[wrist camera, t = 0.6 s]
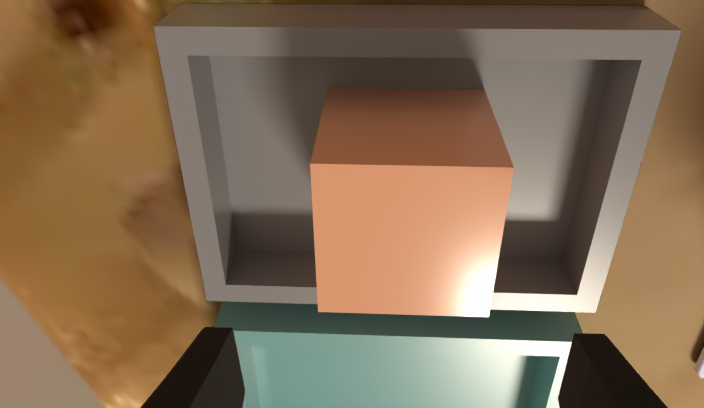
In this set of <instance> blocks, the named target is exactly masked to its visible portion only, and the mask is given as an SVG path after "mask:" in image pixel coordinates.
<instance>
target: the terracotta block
mask: <svg viewBox="0 0 704 408" xmlns="http://www.w3.org/2000/svg"><path fill="white" fill-rule="evenodd" d="M513 171H514V166H513V163H512V161H511V158H510V155H509V153H508V150H507V148H506V145H505V142H504V140H503V137H502V134H501V132H500V129H499V126H498V124H497V121H496V118H495V116H494V113H493V110H492V108H491V105H490V103H489V100H488V97H487V95H486V92H485V90H442V89H363V88H328V89H327V93H326V97H325V101H324V106H323V110H322V114H321V119H320V123H319V127H318V132H317V136H316V140H315V145H314V149H313V153H312V158H311V162H310V172H311V190H312V209H313V228H314V246H315V265H316V284H317V302H318V312H336V313H368V314H400V315H432V316H465V317H489V313H490V307H491V301H492V295H493V289H494V283H495V278H496V272H497V266H498V260H499V254H500V248H501V242H502V236H503V230H504V224H505V218H506V212H507V206H508V201H509V195H510V189H511V183H512V177H513Z"/></svg>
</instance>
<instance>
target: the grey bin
mask: <svg viewBox="0 0 704 408" xmlns="http://www.w3.org/2000/svg"><path fill="white" fill-rule="evenodd" d="M153 27H154V32H155V37H156V42H157V47H158V53H159V58H160V63H161V68H162V73H163V78H164V83H165V88H166V94H167V99H168V104H169V109H170V114H171V119H172V124H173V130H174V135H175V140H176V145H177V150H178V155H179V160H180V165H181V171H182V176H183V181H184V186H185V191H186V196H187V201H188V206H189V212H190V217H191V222H192V227H193V232H194V237H195V242H196V248H197V253H198V258H199V263H200V268H201V273H202V278H203V283H204V289H205V294H206V299H207V301H230V302H263V303H295V304H318V302H317V284H316V265H315V246H314V228H313V209H312V190H311V172H310V162H311V158H312V153H313V149H314V145H315V140H316V136H317V132H318V127H319V123H320V119H321V114H322V110H323V106H324V101H325V97H326V93H327V89H328V88H363V89H442V90H485V92H486V95H487V97H488V100H489V103H490V105H491V108H492V110H493V113H494V116H495V118H496V121H497V124H498V126H499V129H500V132H501V134H502V137H503V140H504V142H505V145H506V148H507V150H508V153H509V155H510V158H511V161H512V163H513V166H514V171H513V177H512V183H511V189H510V195H509V201H508V206H507V212H506V218H505V224H504V230H503V236H502V242H501V248H500V254H499V260H498V266H497V272H496V278H495V283H494V289H493V295H492V301H491V307H490V309H493V310H526V311H558V312H591V313H595V312H596V309H597V306H598V302H599V299H600V296H601V293H602V289H603V286H604V283H605V280H606V276H607V273H608V270H609V267H610V263H611V260H612V257H613V253H614V250H615V247H616V244H617V240H618V237H619V234H620V231H621V227H622V224H623V221H624V218H625V214H626V211H627V208H628V204H629V201H630V198H631V195H632V191H633V188H634V185H635V182H636V178H637V175H638V172H639V168H640V165H641V162H642V159H643V155H644V152H645V149H646V146H647V142H648V139H649V136H650V133H651V129H652V126H653V123H654V119H655V116H656V113H657V110H658V106H659V103H660V100H661V97H662V93H663V90H664V87H665V84H666V80H667V77H668V74H669V70H670V67H671V64H672V61H673V57H674V54H675V51H676V48H677V44H678V41H679V38H680V35H681V31H682V30H681V29H679V28H678V27H676V26H675V25H673V24H672V23H670V22H669V21H667V20H666V19H664V18H663V17H661V16H660V15H658V14H657V13H655V12H654V11H652V10H651V9H649V8H648V7H646V6H583V5H407V4H232V3H181V4H180V5H178V6H177V7H176V8H175V9H174V10H172V11H171V12H170V13H169V14H168V15H166V16H165V17H164V18H163V19H162V20H160V21H159V22H158V23H157V24H156V25H154V26H153Z"/></svg>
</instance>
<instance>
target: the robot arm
mask: <svg viewBox="0 0 704 408" xmlns="http://www.w3.org/2000/svg"><path fill="white" fill-rule="evenodd" d="M695 370H696V372H697V374H698V375H699V377H701V378H703V379H704V348H703V350H702V352H701V354H700V356H699V358H698V360H697V363H696V365H695ZM244 396H245V386H244V381H243V376H242V371H241V366H240V361H239V356H238V351H237V346H236V341H235V336H234V331H233V328H227V327H205V328H204V329H202V330H201V331H200V333H199V334H198V335H197V337H196V338H195V339H194V341H193V342H192V343H191V345H190V346H189V347H188V349H187V350H186V351H185V353H184V354H183V355H182V357H181V358H180V359H179V361H178V362H177V363H176V365H175V366H174V367H173V368H172V370H171V371H170V372H169V373H168V375H167V376H166V377H165V379H164V380H163V381H162V382H161V383H160V385H159V386H158V387H157V388H156V390H155V391H154V392H153V393H152V394H151V396H150V397H149V398H148V399H147V400H146V402H145V403H144V404H143V405H142V406H141V408H243V402H244ZM558 402H559V407H560V408H668V407H667V406H666V405H665V404H664V403H663V402H662V401H661V400H660V398H659V397H658V396H657V395H656V394H655V393H654V392H653V390H652V389H651V388H650V387H649V386H648V385H647V383H646V382H645V381H644V380H643V379H642V378H641V376H640V375H639V374H638V373H637V372H636V371H635V369H634V368H633V367H632V366H631V365H630V363H629V362H628V361H627V360H626V359H625V357H624V356H623V355H622V354H621V353H620V351H619V350H618V349H617V348H616V347H615V346H614V344H613V343H612V342H611V341H610V340H609V338H608V337H607V336H606V335H605V334H578V333H574V336H573V340H572V344H571V348H570V352H569V356H568V360H567V364H566V368H565V372H564V376H563V380H562V384H561V388H560V392H559V396H558Z"/></svg>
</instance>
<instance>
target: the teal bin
mask: <svg viewBox="0 0 704 408" xmlns="http://www.w3.org/2000/svg"><path fill="white" fill-rule="evenodd" d="M214 327H227V328H233V331H234V336H235V341H236V346H237V351H238V356H239V361H240V366H241V371H242V376H243V381H244V386H245V396H244V402H243V408H560V407H559V402H558V396H559V392H560V388H561V384H562V380H563V376H564V372H565V368H566V364H567V360H568V356H569V352H570V348H571V344H572V340H573V336H574V333H578V334H583V333H582V330H581V328H580V325H579V322H578V320H577V317H576V315H575V312H558V311H526V310H493V309H490V313H489V317H465V316H432V315H400V314H368V313H336V312H318V304H295V303H263V302H230V301H223V302H222V305H221V308H220V310H219V313H218V316H217V319H216V322H215V325H214Z"/></svg>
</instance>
